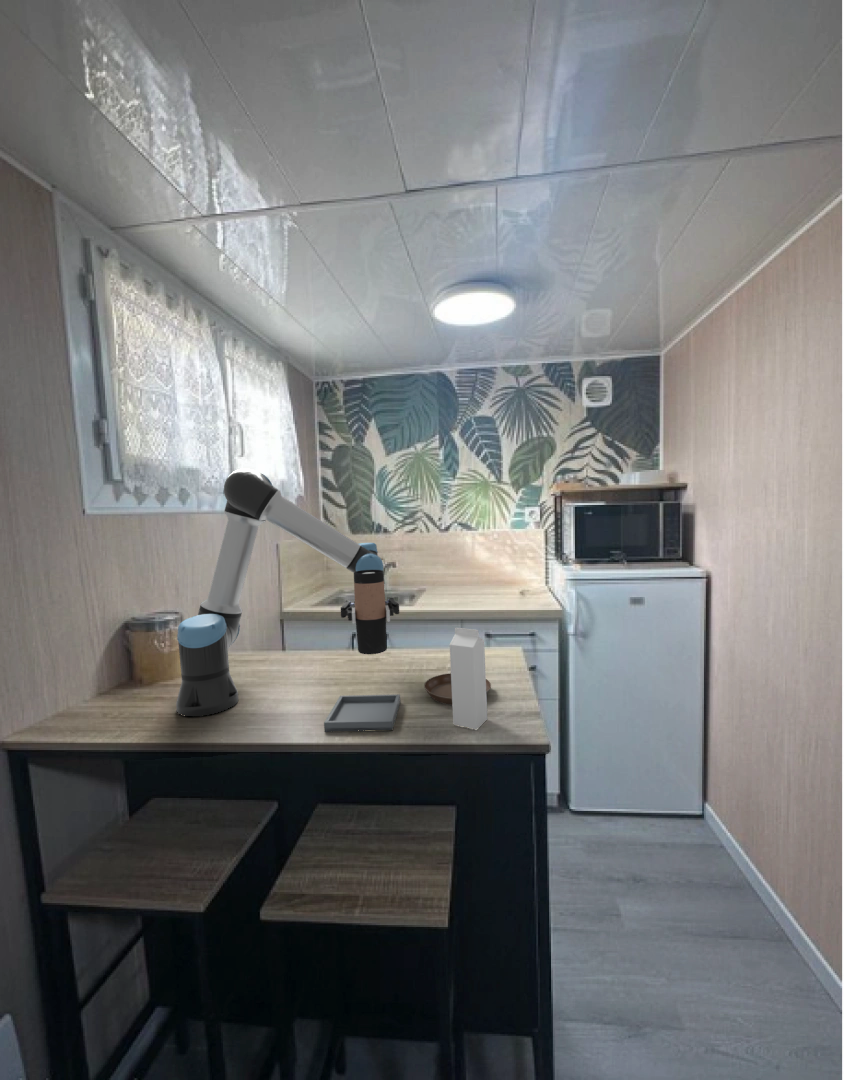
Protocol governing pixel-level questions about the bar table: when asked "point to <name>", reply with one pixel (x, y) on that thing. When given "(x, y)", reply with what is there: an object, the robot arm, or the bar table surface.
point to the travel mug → (370, 611)
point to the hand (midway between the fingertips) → (371, 617)
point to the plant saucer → (443, 688)
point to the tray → (363, 713)
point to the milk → (468, 678)
